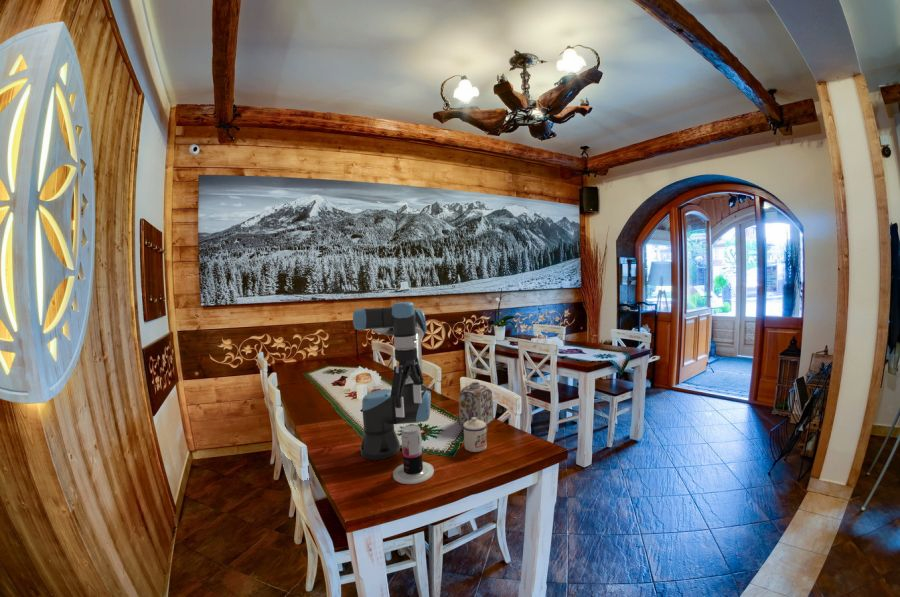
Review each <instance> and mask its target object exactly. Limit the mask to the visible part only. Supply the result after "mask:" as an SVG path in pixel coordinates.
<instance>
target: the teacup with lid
mask: <svg viewBox="0 0 900 597" xmlns="http://www.w3.org/2000/svg"><path fill="white" fill-rule="evenodd" d="M462 428H463V440H464V441H463V442H464V449H465V450H466V451H469V452H473V453H479V452H482V451H485V450H486V449H487V433H488V424H487V425H486V424H485V422H483V421H481V420H477V418H476V417H473V418H472V420H470V421H467V422H465V423H464V424H462Z"/></svg>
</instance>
